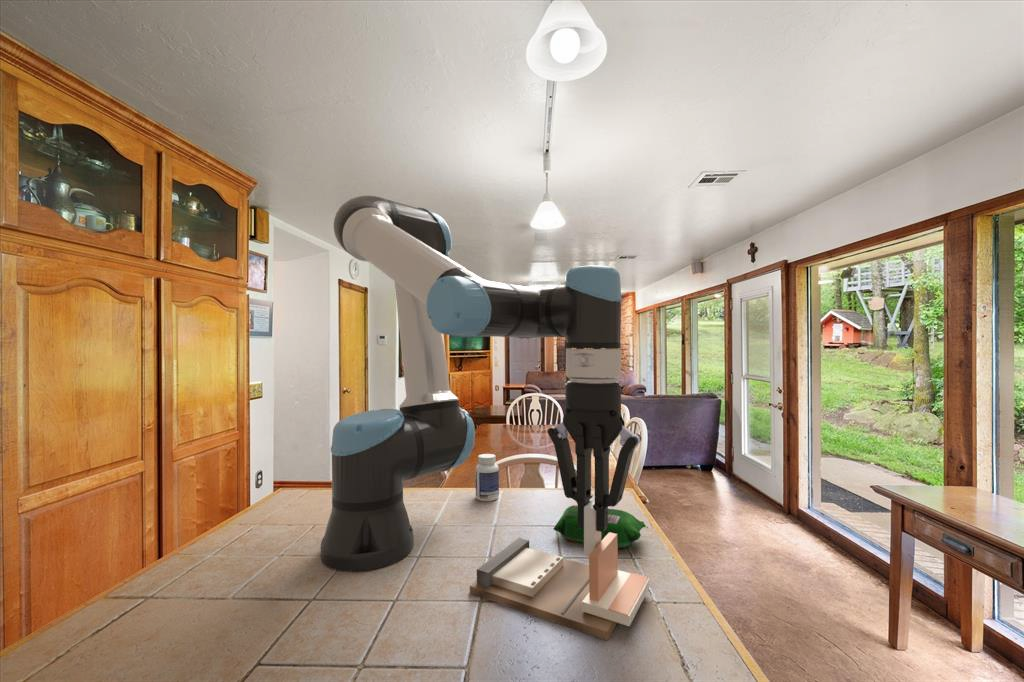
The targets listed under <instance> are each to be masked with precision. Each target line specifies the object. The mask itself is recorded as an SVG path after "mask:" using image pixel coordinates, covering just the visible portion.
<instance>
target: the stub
mask: <svg viewBox="0 0 1024 682" xmlns="http://www.w3.org/2000/svg"><path fill="white" fill-rule="evenodd" d="M618 549H619V548H618V547H617V534H615V533H611V532H609V533H608V534H607V535H606V536H605V537H604V539H603V540H602V541H601V542H600V543H599V544H598V545H597V546H596V548H595V549H594V550H593V551H592V552H591V553H590V554H589V556H588V565H589V593H588V595H587V596H586V597H585V599H584V600H583V601H582V611H583V612H586V613H589V614H592V615H595V616H598V617H602V618H605V619H608V620H611V621H614V622H617V624H621V625H622V626H627V627H630V626H631V624H632V623H633V620H634V619H635V616H636V615H637V613H638V610H639V609H640V607H641V605H642V603H643V601H644V599H645V597H646V595H647V593H648V591H649V590H650V587H651V581H650V580H651V579H650V577H648V576H645V575H641V574H637V573H633V572H628V571H624V570H620V569H619V567H618V565H619V564H618V563H619V559H618V557H619V556H618V555H619V554H618Z"/></svg>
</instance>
